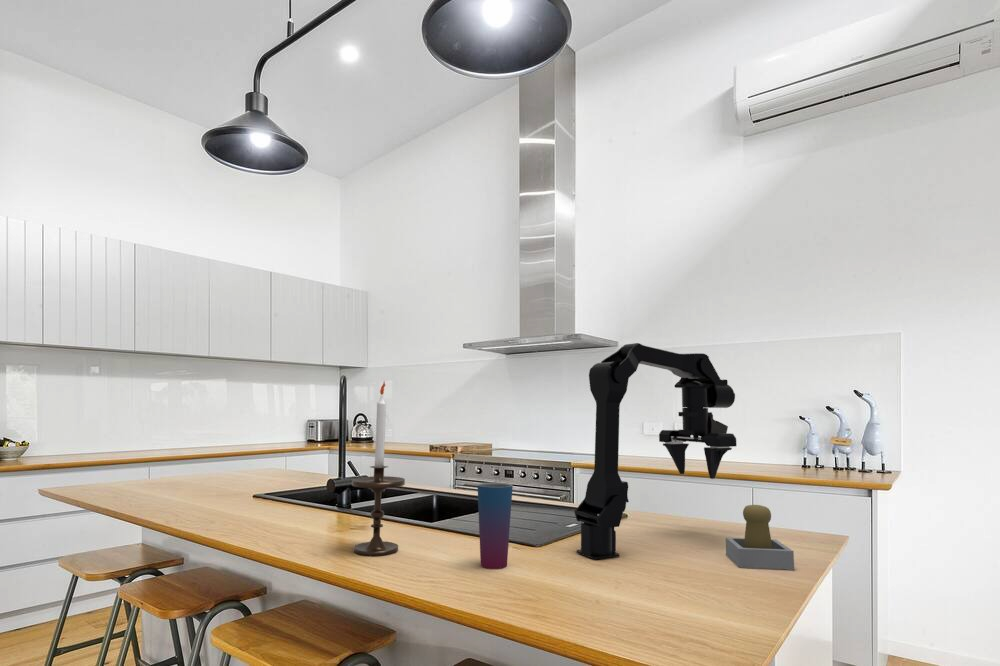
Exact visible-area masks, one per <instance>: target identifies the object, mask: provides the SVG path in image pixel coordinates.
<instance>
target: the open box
mask: <svg viewBox="0 0 1000 666" xmlns="http://www.w3.org/2000/svg"><path fill="white" fill-rule="evenodd" d="M744 539H745V537H727V536H726V537H725V555H726V556H727V557H728V558H729V559H730V560H731V561H732V562H733V564H735V565H736V566H737V567H738V568H740V569H757V568H762V570H778V569H785V570H784V571H795V558H794V557H795V554H794V553H795V552H794V550H793V549H792V548H789V547H788V546H786V545H785V544H783V543H782V542H781V541H779V540H777V539H774V538H771V542H772V547H773V549H760V548H744ZM763 568H764V569H763ZM786 569H787V570H786Z"/></svg>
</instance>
